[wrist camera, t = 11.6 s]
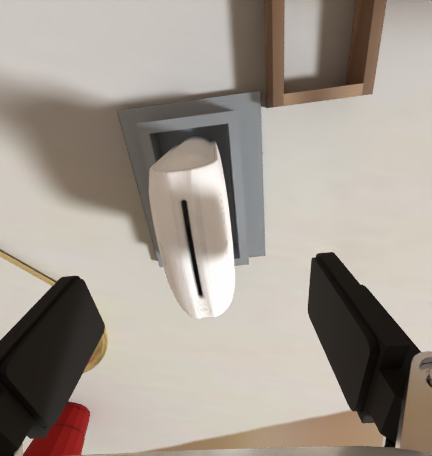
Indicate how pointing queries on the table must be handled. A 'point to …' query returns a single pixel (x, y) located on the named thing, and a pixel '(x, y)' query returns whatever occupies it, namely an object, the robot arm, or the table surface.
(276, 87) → the wooden picture frame
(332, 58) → the table surface
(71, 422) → the plastic cup
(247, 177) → the docking base
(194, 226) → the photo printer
